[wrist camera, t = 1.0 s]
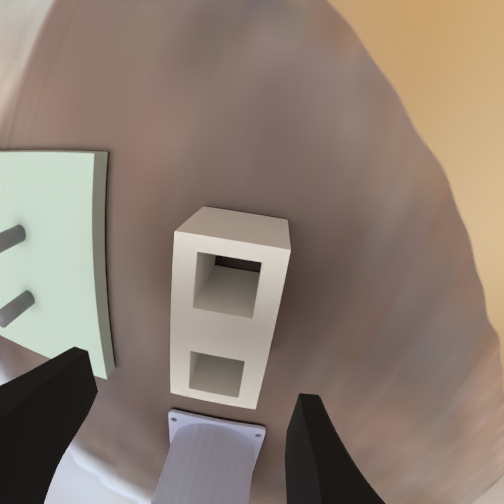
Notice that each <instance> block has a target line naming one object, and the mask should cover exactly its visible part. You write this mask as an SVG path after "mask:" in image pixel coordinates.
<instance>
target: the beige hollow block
mask: <svg viewBox="0 0 504 504" xmlns="http://www.w3.org/2000/svg"><path fill="white" fill-rule="evenodd" d="M290 252H291V246H290V236H289V227H288V220H287V219H281V218H275V217H269V216H263V215H257V214H251V213H244V212H238V211H232V210H225V209H218V208H212V207H205V206H203V207H202V208H201V209H200V210H198V211H197V212H196V213H195V214H194V215H193V216H191V217H190V218H189V219H188V220H187V221H186V222H184V223H183V224H182V225H181V226H180V227H179V228H177V229H176V230H175V233H174V248H173V266H172V288H171V322H170V382H171V393H174V394H178V395H182V396H187V397H191V398H196V399H200V400H205V401H210V402H215V403H220V404H226V405H231V406H237V407H243V408H250V409H256V405H257V401H258V397H259V393H260V389H261V385H262V381H263V376H264V372H265V368H266V364H267V359H268V355H269V351H270V346H271V342H272V337H273V333H274V328H275V324H276V319H277V315H278V310H279V305H280V301H281V296H282V291H283V286H284V282H285V277H286V272H287V267H288V262H289V257H290ZM216 255H220V256H226V257H232V258H238V259H244V260H250V261H256V262H262V263H261V269H260V273H258V272H252V271H246V270H240V269H234V268H228V267H222V266H217V265H215V259H216Z"/></svg>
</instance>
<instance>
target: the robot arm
mask: <svg viewBox="0 0 504 504" xmlns="http://www.w3.org/2000/svg"><path fill="white" fill-rule="evenodd" d="M97 392H98V390H97V386H96V382H95V378H94V374H93V370H92V366H91V362H90V357H89V352H88V351H87V350H84V349H81V348H78V347H75V346H74V347H72V348H70V349H68V350H67V351H65V352H63V353H61V354H59V355H58V356H56V357H54V358H52V359H50V360H49V361H47V362H45V363H43V364H42V365H40V366H38V367H36V368H34V369H33V370H31V371H29V372H27V373H25V374H23V375H21V376H19V377H17V378H15V379H13V380H11V381H9V382H7V383H5V384H3V385H1V386H0V504H44V501H45V498H46V495H47V492H48V489H49V486H50V483H51V480H52V478H53V476H54V473H55V470H56V468H57V466H58V464H59V462H60V460H61V458H62V456H63V454H64V453H65V451H66V449H67V448H68V446H69V444H70V443H71V441H72V439H73V438H74V436H75V435H76V433H77V431H78V430H79V428H80V426H81V425H82V423H83V421H84V420H85V418H86V416H87V415H88V413H89V411H90V409H91V406H92V404H93V402H94V399H95V397H96V395H97ZM168 419H169V435H170V449H169V452H168V455H167V457H166V460H165V463H164V466H163V469H162V472H161V475H160V478H159V481H158V484H157V487H156V490H155V493H154V496H153V499H152V502H151V504H249V497H250V488H251V479H252V473H253V470H254V467H255V464H256V461H257V458H258V455H259V452H260V449H261V446H262V443H263V439H264V436H265V433H266V428H265V427H263V426H259V425H252V424H246V423H239V422H233V421H228V420H222V419H217V418H212V417H207V416H202V415H197V414H192V413H188V412H184V411H179V410H175V409H171V410H170V411H169V413H168ZM285 470H286V491H287V504H385V502H384V501H383V500H382V499H381V498H380V497H379V496H378V495H377V493H376V492H375V491H374V490H373V488H372V487H371V486H370V485H369V483H368V482H367V481H366V479H365V478H364V476H363V475H362V474H361V472H360V471H359V469H358V468H357V466H356V465H355V463H354V462H353V460H352V458H351V457H350V455H349V453H348V452H347V450H346V448H345V447H344V445H343V443H342V441H341V439H340V438H339V436H338V434H337V432H336V430H335V428H334V426H333V424H332V422H331V420H330V418H329V416H328V414H327V412H326V409H325V407H324V405H323V403H322V400H321V398H320V397H319V395H313V394H301V393H299V396H298V399H297V402H296V405H295V409H294V412H293V415H292V418H291V421H290V423H289V426H288V429H287V436H286V450H285Z"/></svg>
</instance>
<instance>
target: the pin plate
mask: <svg viewBox="0 0 504 504" xmlns="http://www.w3.org/2000/svg"><path fill="white" fill-rule="evenodd" d="M107 156H108V152H100V151H73V150H8V151H0V335H2V336H4V337H6V338H7V339H9V340H12V341H14V342H16V343H18V344H20V345H22V346H24V347H26V348H28V349H30V350H33V351H35V352H37V353H39V354H42V355H44V356H46V357H49V358H51V359H52V358H54V357H56V356H58V355H59V354H61V353H63V352H65V351H67V350H68V349H70V348H72V347H74V346H75V347H78V348H81V349H84V350H87V351H88V352H89V357H90V362H91V366H92V370H93V374H94V375H95V376H98V377H101V378H104V379H108V378H109V376H110V375H111V373H112V372H113V370H114V369H115V364H114V357H113V350H112V342H111V334H110V324H109V314H108V302H107V288H106V269H105V189H106V170H107Z"/></svg>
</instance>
